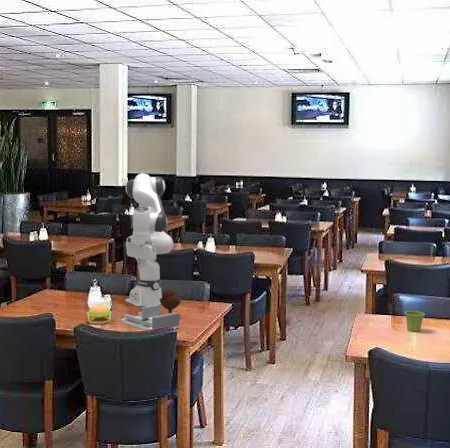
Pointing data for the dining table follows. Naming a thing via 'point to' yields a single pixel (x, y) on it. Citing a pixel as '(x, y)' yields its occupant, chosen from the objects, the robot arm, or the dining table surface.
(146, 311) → the gauge carriage
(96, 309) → the hamburger
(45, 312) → the dining table surface
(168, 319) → the grey mounting bracket
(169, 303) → the ice cream bowl
